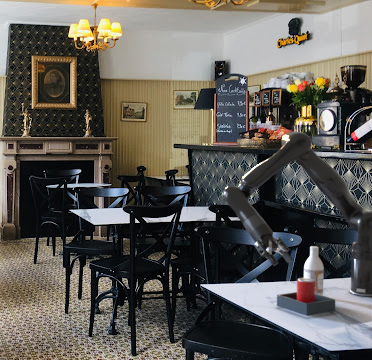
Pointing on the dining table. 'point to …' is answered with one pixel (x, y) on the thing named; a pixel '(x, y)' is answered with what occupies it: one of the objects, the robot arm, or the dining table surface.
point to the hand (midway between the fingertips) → (283, 263)
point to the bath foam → (315, 270)
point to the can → (306, 290)
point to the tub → (306, 304)
